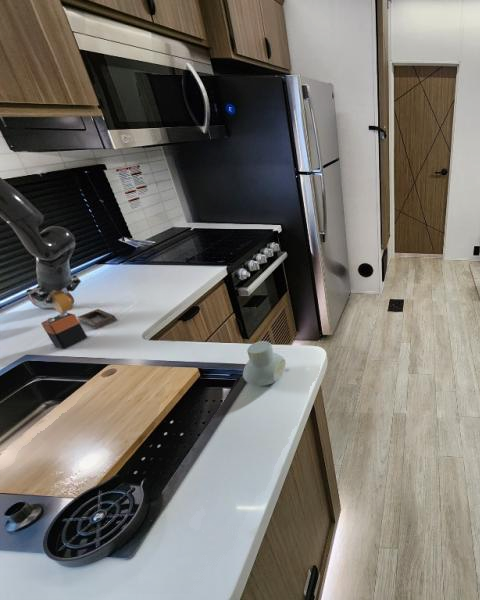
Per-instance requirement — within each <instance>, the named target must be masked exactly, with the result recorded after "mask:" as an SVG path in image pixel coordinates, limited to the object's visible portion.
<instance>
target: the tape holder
mask: <svg viewBox="0 0 480 600" xmlns="http://www.w3.org/2000/svg"><path fill="white" fill-rule="evenodd" d="M96 317H100V318H102V319H100V320H97V321H94V320H92V319H94V318H96ZM76 318H77V319H78V321H79V323H80V324H83V325H86V326H88V327H90V328H93V329H95V330H98V329H101V328H103V327H105V326H107V325H110V324H113V323H114V322H117V321H118V319H117V316H116V315H114V314H111V313H109V312H106V311H105V310H102V309H99V308H97V309H94V310H91V311H89V312H86V313H84V314H81V315H79V316H76Z"/></svg>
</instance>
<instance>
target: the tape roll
mask: <svg viewBox="0 0 480 600" xmlns="http://www.w3.org/2000/svg"><path fill="white" fill-rule="evenodd" d="M52 305H53V307H54V308H55V309H54V310H56V311H57V312H58V313H61V312H64V311H65V312H69V311H72V310H74V306H73V305H72V303H71V301H70V300H69V298H68V297H67V295H66V294H65V293H63V292H62V291H57V292H55V293H54V296H52Z"/></svg>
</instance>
